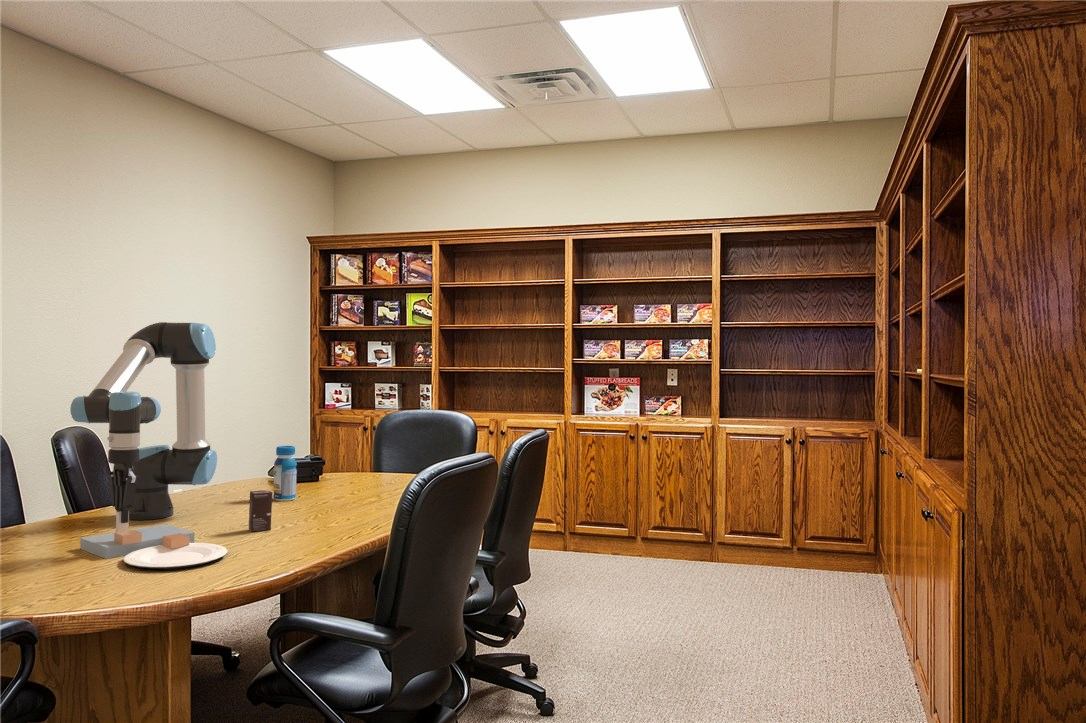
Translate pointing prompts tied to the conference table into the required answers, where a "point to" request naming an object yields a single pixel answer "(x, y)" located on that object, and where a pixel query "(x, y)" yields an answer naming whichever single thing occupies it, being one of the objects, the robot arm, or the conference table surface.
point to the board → (110, 549)
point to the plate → (175, 556)
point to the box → (260, 510)
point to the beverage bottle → (285, 474)
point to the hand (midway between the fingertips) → (122, 534)
